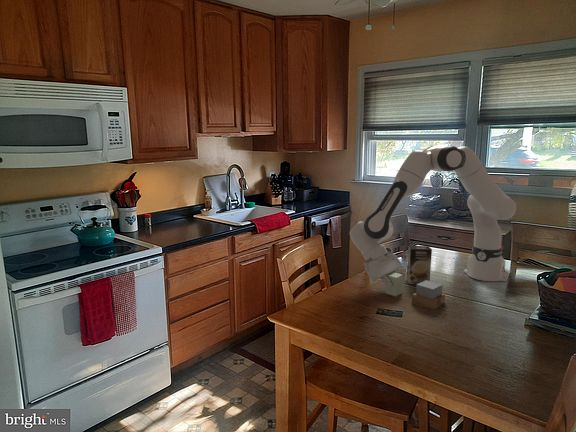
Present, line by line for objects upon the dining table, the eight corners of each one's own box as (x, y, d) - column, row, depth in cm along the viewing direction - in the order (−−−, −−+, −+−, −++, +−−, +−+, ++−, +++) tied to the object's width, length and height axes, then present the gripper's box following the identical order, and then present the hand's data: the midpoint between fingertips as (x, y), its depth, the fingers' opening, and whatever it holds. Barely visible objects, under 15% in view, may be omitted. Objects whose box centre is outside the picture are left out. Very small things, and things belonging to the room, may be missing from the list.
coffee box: (408, 284, 180) (410, 249, 177) (406, 279, 186) (407, 245, 183) (430, 284, 179) (432, 249, 176) (426, 279, 185) (428, 245, 182)
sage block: (391, 289, 174) (392, 272, 172) (402, 292, 170) (402, 274, 169) (385, 293, 170) (385, 274, 169) (395, 296, 167) (396, 277, 165)
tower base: (423, 297, 166) (423, 288, 165) (444, 303, 160) (445, 294, 159) (411, 304, 160) (412, 294, 159) (433, 310, 154) (434, 300, 153)
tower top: (425, 289, 164) (426, 280, 163) (441, 294, 159) (442, 284, 158) (416, 294, 159) (416, 284, 158) (432, 299, 154) (433, 289, 153)
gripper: (366, 257, 165) (386, 286, 160) (393, 247, 179) (412, 273, 174) (357, 265, 169) (376, 294, 164) (383, 255, 183) (402, 280, 178)
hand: (395, 283), depth 169 cm, fingers closed on sage block, 5 cm apart
